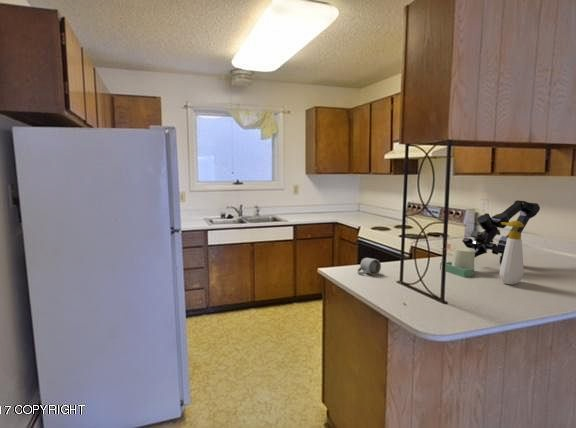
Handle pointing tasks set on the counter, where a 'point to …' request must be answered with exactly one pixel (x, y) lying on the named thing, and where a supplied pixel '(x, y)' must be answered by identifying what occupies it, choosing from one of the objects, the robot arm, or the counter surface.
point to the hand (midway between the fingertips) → (471, 257)
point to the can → (464, 258)
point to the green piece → (458, 270)
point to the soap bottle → (512, 256)
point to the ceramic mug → (369, 266)
